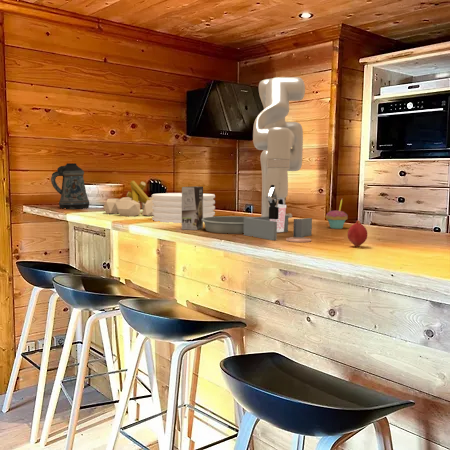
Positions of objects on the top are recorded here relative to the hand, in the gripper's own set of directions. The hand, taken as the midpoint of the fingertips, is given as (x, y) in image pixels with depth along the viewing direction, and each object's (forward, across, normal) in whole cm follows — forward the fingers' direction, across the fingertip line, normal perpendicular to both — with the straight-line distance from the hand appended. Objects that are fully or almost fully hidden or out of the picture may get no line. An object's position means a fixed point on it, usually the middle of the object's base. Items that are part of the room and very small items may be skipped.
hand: (277, 217), depth 175 cm
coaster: (+6, +5, +10) cm, 13 cm away
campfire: (+7, -51, -91) cm, 105 cm away
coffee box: (+7, -7, -36) cm, 38 cm away
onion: (+7, +9, +29) cm, 31 cm away
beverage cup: (+5, 0, 0) cm, 5 cm away
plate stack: (+7, -35, -57) cm, 67 cm away
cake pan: (+7, -10, -21) cm, 24 cm away
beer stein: (+7, -58, -142) cm, 153 cm away
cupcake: (+7, -37, +11) cm, 39 cm away
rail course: (+7, -3, 0) cm, 7 cm away
